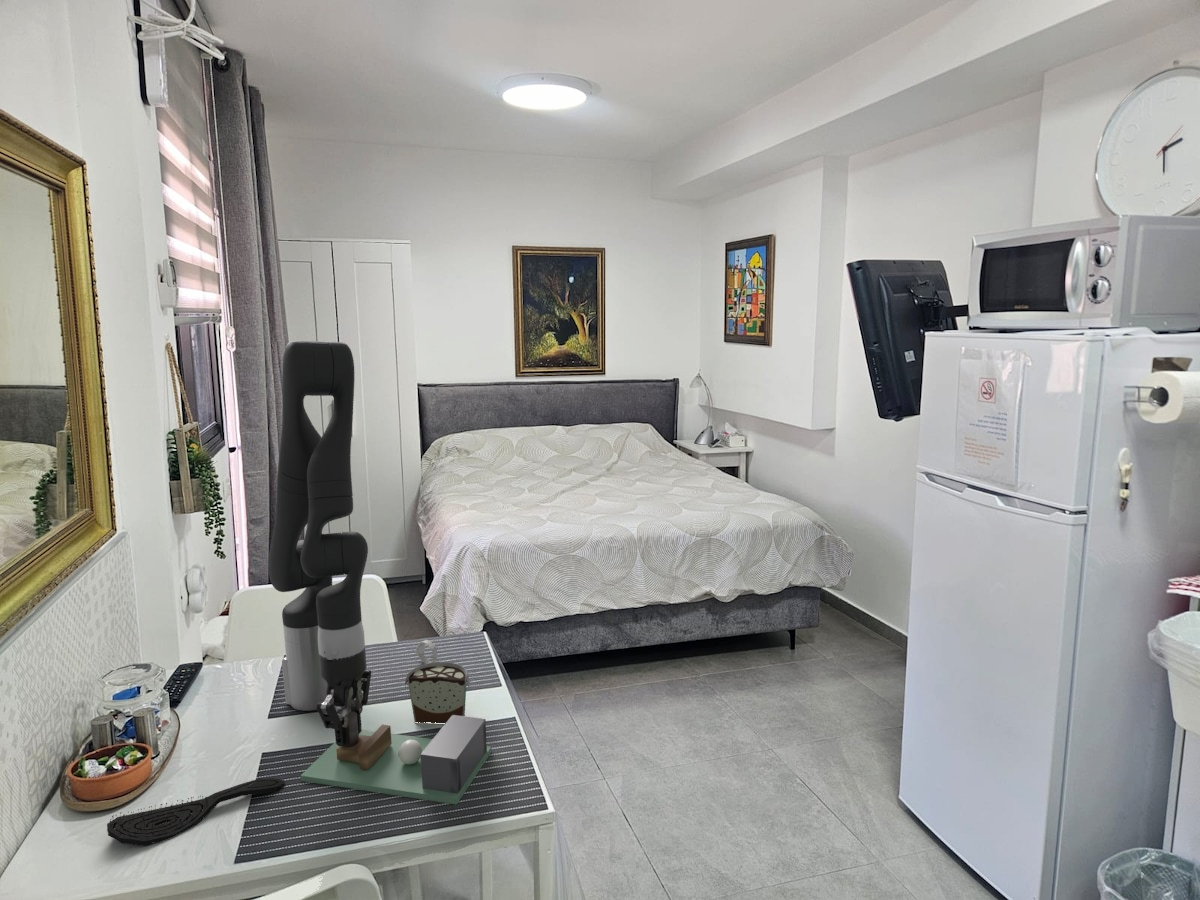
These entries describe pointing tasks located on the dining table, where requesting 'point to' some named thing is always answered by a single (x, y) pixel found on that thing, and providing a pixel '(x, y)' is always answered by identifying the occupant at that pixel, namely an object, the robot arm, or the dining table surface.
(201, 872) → the dining table surface
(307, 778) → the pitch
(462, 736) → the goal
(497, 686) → the dining table surface
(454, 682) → the food container
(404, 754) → the ball
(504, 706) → the dining table surface
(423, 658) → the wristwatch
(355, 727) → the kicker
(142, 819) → the hairbrush
